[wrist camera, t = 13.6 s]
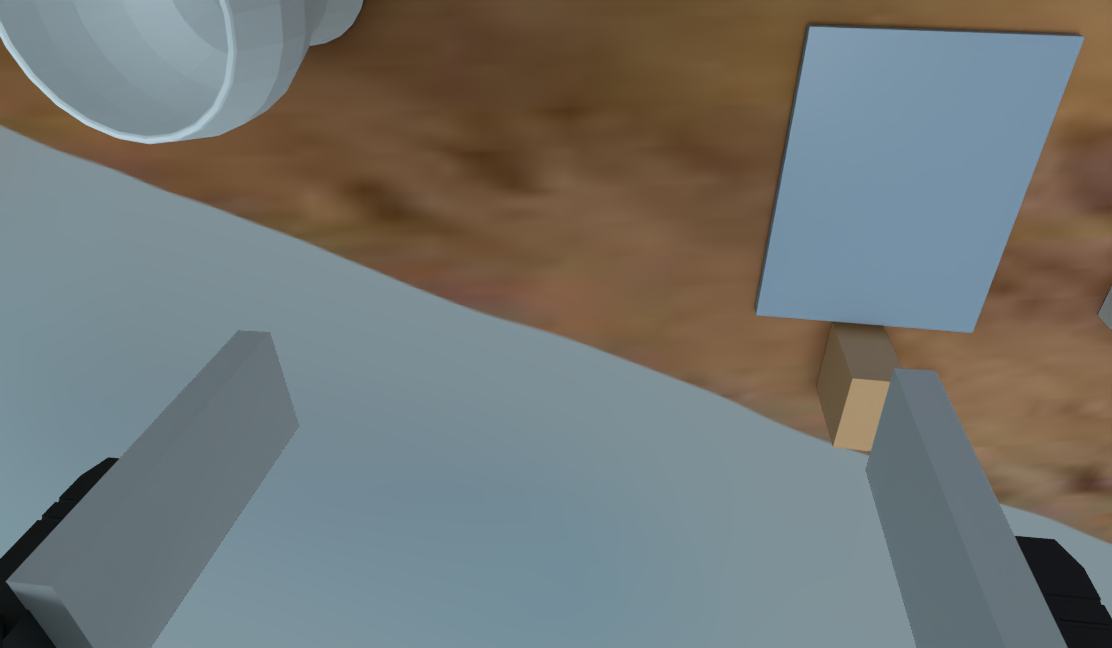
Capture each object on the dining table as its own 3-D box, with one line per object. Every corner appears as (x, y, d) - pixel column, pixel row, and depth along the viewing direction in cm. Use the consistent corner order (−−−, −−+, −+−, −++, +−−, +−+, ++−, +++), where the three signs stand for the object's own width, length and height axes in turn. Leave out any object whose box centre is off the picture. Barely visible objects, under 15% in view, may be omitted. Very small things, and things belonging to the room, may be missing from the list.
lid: (807, 23, 36) (828, 46, 31) (1076, 33, 34) (1145, 59, 29) (741, 379, 47) (749, 438, 42) (940, 398, 46) (973, 461, 41)
